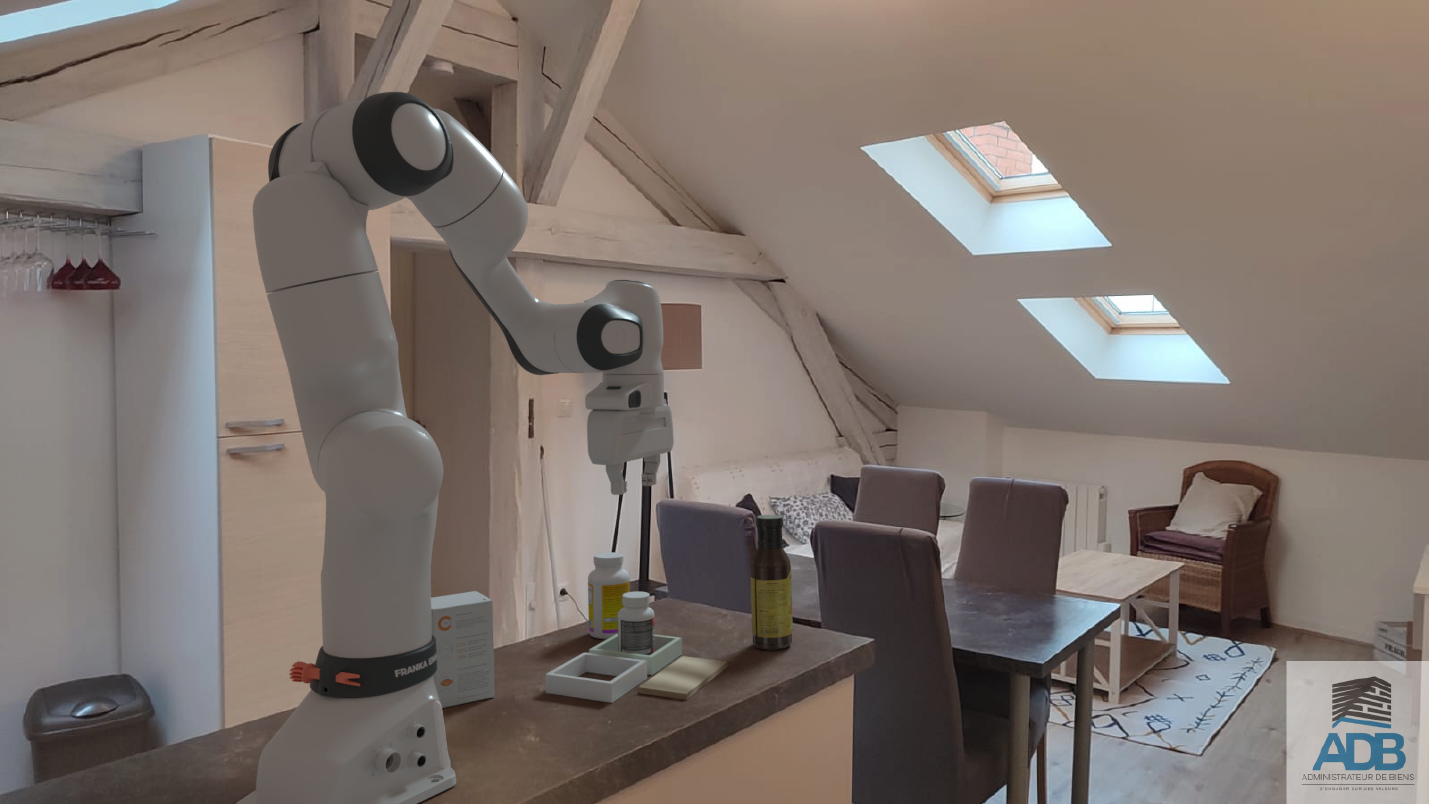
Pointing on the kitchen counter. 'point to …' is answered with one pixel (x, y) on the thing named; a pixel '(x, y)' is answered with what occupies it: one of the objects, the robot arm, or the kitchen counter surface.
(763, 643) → the sauce bottle
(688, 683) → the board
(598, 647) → the sage tray
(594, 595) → the supplement bottle
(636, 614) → the pill bottle
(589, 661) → the white square frame
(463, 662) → the small box
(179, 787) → the kitchen counter surface
